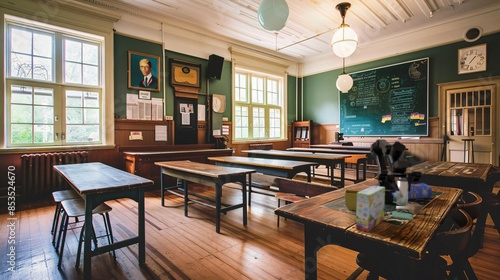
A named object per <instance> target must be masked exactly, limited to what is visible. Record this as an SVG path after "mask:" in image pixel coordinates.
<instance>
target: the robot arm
mask: <svg viewBox="0 0 500 280" xmlns="http://www.w3.org/2000/svg"><path fill="white" fill-rule="evenodd" d="M406 148H407V146H406V145H405V144H404V143H401V142H400V141H399V140H398V141H396V140H395V141H394V143H390V142H388V141H387V139H381V138H380V139H376V140H375V141H374V142H373V143H371V145H370V148H369V152H370V153H371V157H373V158H374V159H375V161H376V164H377V165H376V166H377V169H378V171H377V175H376V180H377V184H376V186H381V187H385V203H384V205H385V204H387V205H393V203H394V197H393V194H392V193H395V191H398V187H397V180H396V179H399V177H405V178H407V181H408V192H410V188H411V185H412V183H419V182H421V180H422V178H423V176H424V175H423V172H422V171H420V170H412V171H411V172H410V173H406V172H407V171H408V170H407V169H408V168H411V167H413V162H412V160H411V159H406V160H401V159H402V158H403V156H404V155H405V151H406V150H407V149H406ZM385 156H387V157H386V159H385ZM386 162H387V163H386ZM387 164H388V166H387ZM388 167H389V169H388Z"/></svg>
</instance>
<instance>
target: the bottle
mask: <svg viewBox="0 0 500 280" xmlns="http://www.w3.org/2000/svg"><path fill="white" fill-rule="evenodd" d="M396 184H397V187H398V191H397V195H396V201H395V202H396V203H395V204H396V205H398V206H407V205H408V204H409V199H408V181H407V178H405V177H399V178H398V179H396Z"/></svg>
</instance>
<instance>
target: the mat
mask: <svg viewBox="0 0 500 280" xmlns="http://www.w3.org/2000/svg"><path fill="white" fill-rule="evenodd" d="M412 214H413V213H405V212H398V211H391V215H392V218H395V219H401V220H408V221H413V220H414V218H413V215H412Z"/></svg>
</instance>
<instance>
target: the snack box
mask: <svg viewBox="0 0 500 280" xmlns="http://www.w3.org/2000/svg"><path fill="white" fill-rule="evenodd" d="M359 191H360V192H358V193H357V211H355V212H356V217H355V222H356V223H355V230H358V231H359V230H360V231H363V232H365V233H369V232H371V231H372V230H373V229H374V228H376V226H378V225H379V224H381V222H383V221H384V220H385V187H381V186H377V185H372V186H370V187H367V188H364V189H363V190H359Z"/></svg>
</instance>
